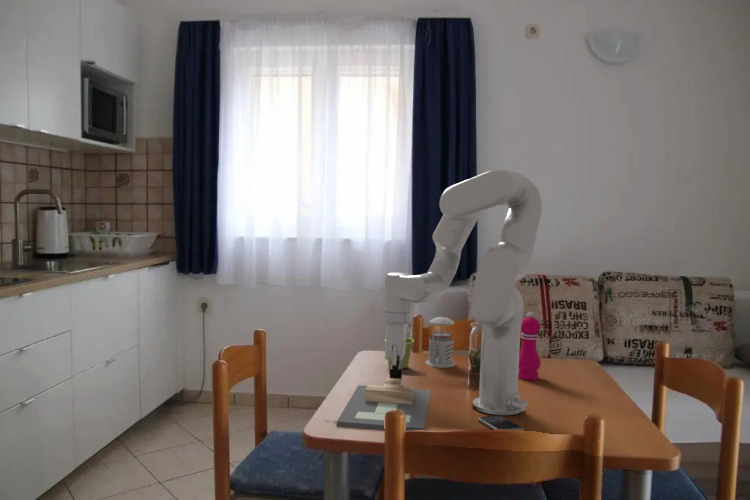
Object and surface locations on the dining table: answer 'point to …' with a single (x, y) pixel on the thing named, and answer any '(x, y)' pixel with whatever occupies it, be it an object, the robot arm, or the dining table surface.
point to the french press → (440, 344)
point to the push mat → (383, 411)
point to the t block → (389, 392)
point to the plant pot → (407, 353)
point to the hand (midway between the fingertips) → (395, 382)
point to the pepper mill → (529, 349)
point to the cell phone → (499, 423)
